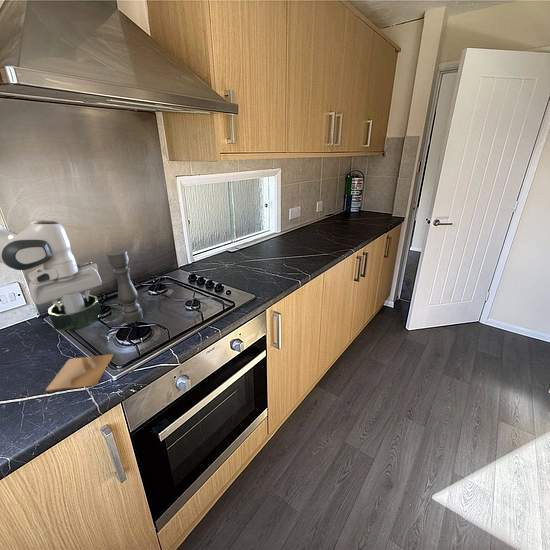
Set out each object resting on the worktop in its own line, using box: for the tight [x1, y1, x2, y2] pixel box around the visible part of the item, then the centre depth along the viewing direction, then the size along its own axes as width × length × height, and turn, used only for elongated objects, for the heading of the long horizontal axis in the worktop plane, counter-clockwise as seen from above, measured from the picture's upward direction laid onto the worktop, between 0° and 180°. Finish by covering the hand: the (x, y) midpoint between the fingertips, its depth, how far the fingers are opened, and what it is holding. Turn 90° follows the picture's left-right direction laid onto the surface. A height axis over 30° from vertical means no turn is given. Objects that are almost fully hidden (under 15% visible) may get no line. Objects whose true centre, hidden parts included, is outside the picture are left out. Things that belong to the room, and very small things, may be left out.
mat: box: [45, 353, 114, 392], centre depth 79 cm, size 12×12×1 cm
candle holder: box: [106, 249, 144, 325], centre depth 99 cm, size 6×6×25 cm
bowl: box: [47, 294, 102, 331], centre depth 104 cm, size 15×15×6 cm
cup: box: [59, 291, 86, 314], centre depth 103 cm, size 6×6×11 cm
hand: (74, 305), depth 102 cm, fingers closed on cup, 6 cm apart
